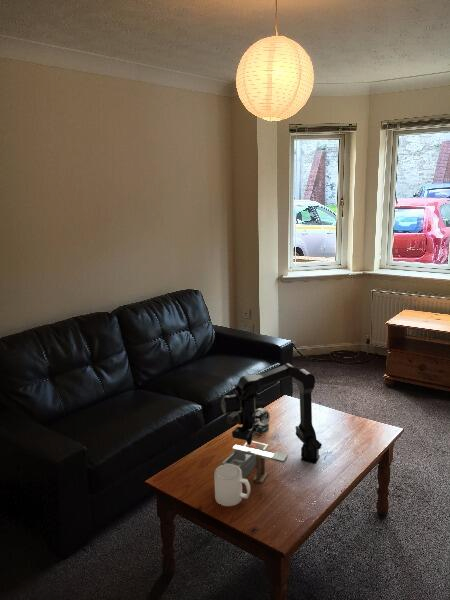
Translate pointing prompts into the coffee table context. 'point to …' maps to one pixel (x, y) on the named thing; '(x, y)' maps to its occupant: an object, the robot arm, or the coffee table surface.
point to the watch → (263, 425)
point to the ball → (252, 446)
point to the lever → (242, 451)
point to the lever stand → (260, 469)
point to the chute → (242, 464)
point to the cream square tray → (259, 446)
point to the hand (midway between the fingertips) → (249, 444)
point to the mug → (229, 485)
